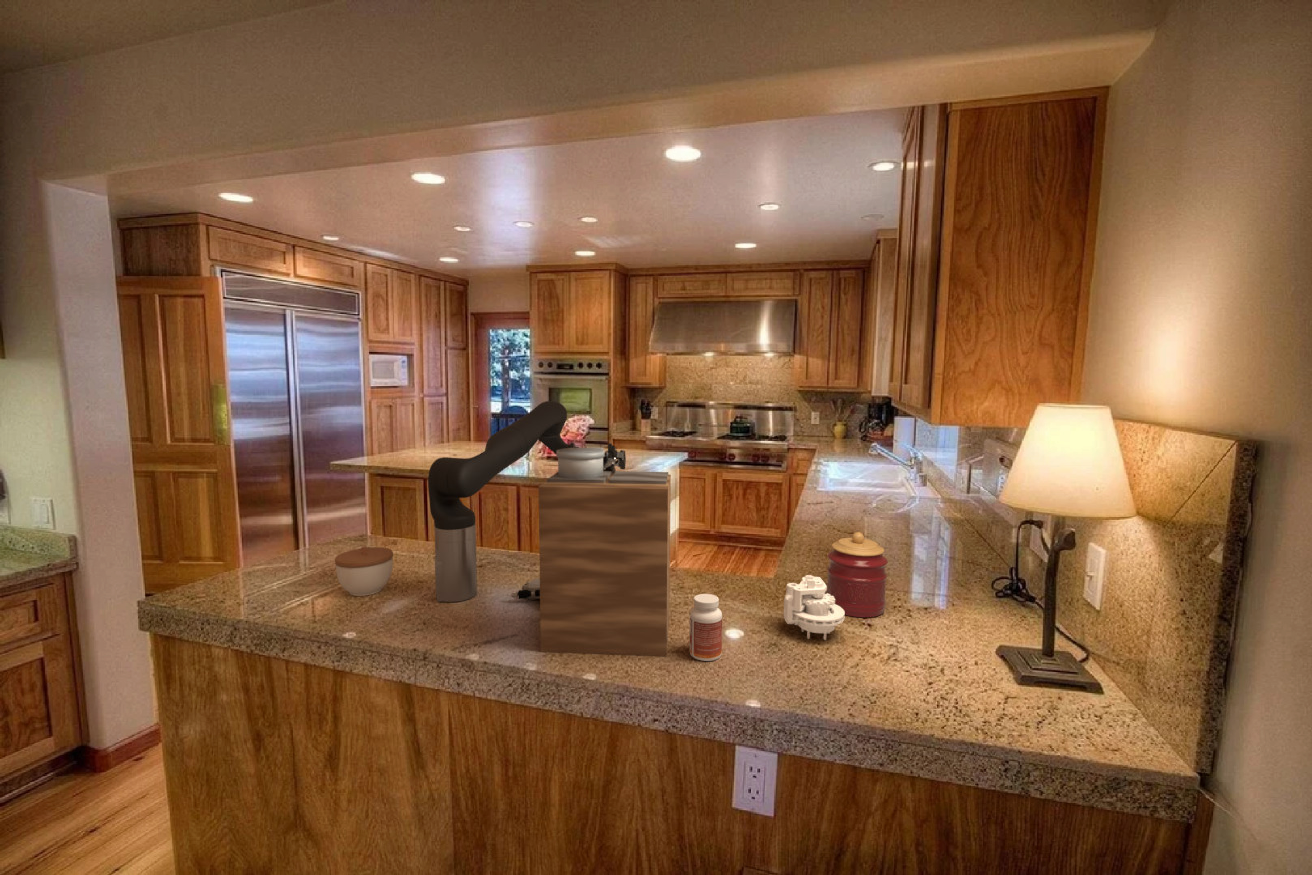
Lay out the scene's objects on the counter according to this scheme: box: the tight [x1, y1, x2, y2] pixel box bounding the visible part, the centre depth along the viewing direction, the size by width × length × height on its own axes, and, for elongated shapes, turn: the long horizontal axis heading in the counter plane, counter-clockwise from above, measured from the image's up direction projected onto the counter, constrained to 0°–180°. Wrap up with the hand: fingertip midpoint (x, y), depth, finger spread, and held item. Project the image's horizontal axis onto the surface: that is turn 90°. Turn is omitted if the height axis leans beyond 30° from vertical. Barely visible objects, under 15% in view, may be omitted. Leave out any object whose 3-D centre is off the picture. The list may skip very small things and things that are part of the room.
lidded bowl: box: [334, 545, 394, 597], centre depth 139 cm, size 13×13×11 cm
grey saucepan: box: [556, 446, 606, 479], centre depth 122 cm, size 23×10×5 cm, turn 177°
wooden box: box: [538, 470, 672, 657], centre depth 115 cm, size 16×24×33 cm, turn 87°
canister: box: [825, 531, 889, 618], centre depth 131 cm, size 13×13×18 cm
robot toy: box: [511, 578, 540, 601], centre depth 135 cm, size 12×4×15 cm
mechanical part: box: [783, 574, 846, 641], centre depth 117 cm, size 11×12×12 cm
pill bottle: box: [688, 593, 723, 662], centre depth 108 cm, size 6×6×11 cm
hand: (590, 446), depth 127 cm, fingers open, 8 cm apart
